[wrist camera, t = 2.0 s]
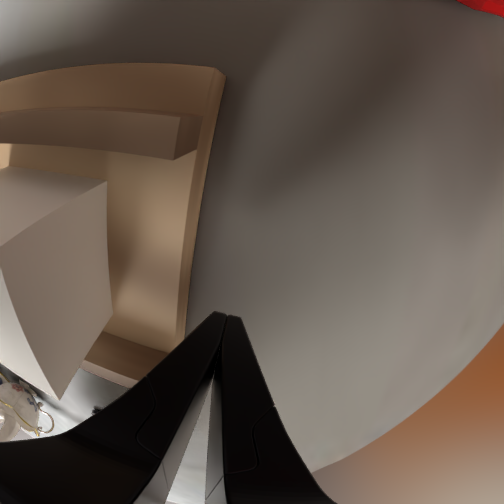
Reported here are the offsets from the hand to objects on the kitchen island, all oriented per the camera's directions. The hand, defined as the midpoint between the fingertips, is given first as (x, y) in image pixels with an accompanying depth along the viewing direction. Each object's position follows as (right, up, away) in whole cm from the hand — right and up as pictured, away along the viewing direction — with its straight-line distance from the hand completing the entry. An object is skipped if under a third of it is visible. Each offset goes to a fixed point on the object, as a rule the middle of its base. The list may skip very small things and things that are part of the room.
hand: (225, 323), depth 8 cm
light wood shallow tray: (-17, +6, +3) cm, 18 cm away
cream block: (-8, +3, +1) cm, 8 cm away
